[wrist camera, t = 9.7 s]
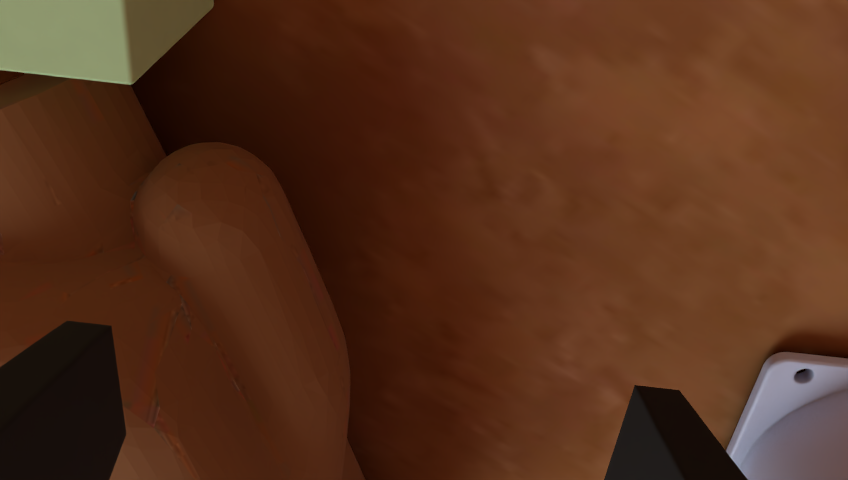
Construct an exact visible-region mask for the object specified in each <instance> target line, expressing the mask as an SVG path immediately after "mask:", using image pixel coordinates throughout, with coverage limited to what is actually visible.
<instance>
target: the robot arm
mask: <svg viewBox="0 0 848 480" xmlns="http://www.w3.org/2000/svg"><path fill="white" fill-rule="evenodd" d="M801 369H807V370H806V371H804V372H802V373H798V374H796V372H797V371H799V370H801ZM125 436H126V427H125V419H124V412H123V405H122V398H121V391H120V383H119V376H118V369H117V362H116V355H115V347H114V340H113V333H112V326H111V325H102V324H93V323H84V322H75V321H66V322H64V323H63V324H61V325H60V326H58V327H57V328H55V329H54V330H52V331H51V332H49V333H48V334H46V335H45V336H44V337H42V338H41V339H39V340H38V341H36V342H35V343H34V344H32V345H31V346H29V347H28V348H26V349H25V350H24V351H22V352H21V353H19V354H18V355H17V356H15V357H14V358H12V359H11V360H10V361H8V362H7V363H5V364H4V365H3V366H1V367H0V480H109V479H110V477H111V474H112V472H113V469H114V466H115V463H116V461H117V458H118V455H119V453H120V450H121V447H122V444H123V442H124V439H125ZM604 480H848V358H839V357H830V356H821V355H812V354H803V353H794V352H779V353H776V354H773V355H772V356H771V357H769V358H768V359H767V360H766V361H765V363H764V364H763V367H762V369H761V371H760V374H759V376H758V378H757V381H756V383H755V385H754V387H753V390H752V392H751V394H750V397H749V399H748V401H747V404H746V406H745V408H744V410H743V413H742V415H741V417H740V420H739V422H738V424H737V427H736V429H735V431H734V433H733V436H732V438H731V440H730V443H729V445H728V447H727V450H726V451H725V450H724V448H723V447H722V446H721V444H720V443H719V442H718V440H717V439H716V438H715V436H714V435H713V434H712V433H711V431H710V430H709V429H708V427H707V426H706V425H705V423H704V422H703V421H702V419H701V418H700V417H699V415H698V414H697V413H696V411H695V410H694V409H693V408H692V406H691V405H690V404H689V402H688V401H687V400H686V398H685V397H684V396H683V395H682V393H681V392H680V391H679V390H672V389H663V388H654V387H646V386H637V385H635V387H634V390H633V393H632V396H631V399H630V402H629V405H628V408H627V411H626V414H625V417H624V420H623V423H622V427H621V430H620V433H619V436H618V439H617V442H616V445H615V448H614V451H613V454H612V457H611V460H610V463H609V466H608V470H607V473H606V476H605V479H604Z"/></svg>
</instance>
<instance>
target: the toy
mask: <svg viewBox="0 0 848 480" xmlns="http://www.w3.org/2000/svg"><path fill="white" fill-rule="evenodd" d="M66 321H75V322H84V323H93V324H102V325H111V326H112V333H113V340H114V347H115V355H116V362H117V369H118V376H119V383H120V391H121V398H122V405H123V412H124V419H125V427H126V436H125V439H124V442H123V444H122V447H121V450H120V453H119V455H118V458H117V461H116V463H115V466H114V469H113V472H112V474H111V477H110V479H109V480H365V478H364V476H363V473H362V471H361V469H360V467H359V464H358V462H357V460H356V457H355V455H354V453H353V451H352V448H351V446H350V444H349V442H348V439H347V431H348V421H349V411H350V366H349V359H348V352H347V346H346V339H345V336H344V333H343V330H342V328H341V325H340V322H339V320H338V317H337V314H336V312H335V309H334V306H333V303H332V301H331V299H330V296H329V294H328V292H327V289H326V287H325V285H324V282H323V280H322V278H321V275H320V273H319V271H318V268H317V266H316V264H315V261H314V259H313V257H312V254H311V252H310V249H309V247H308V245H307V243H306V240H305V238H304V236H303V234H302V231H301V229H300V227H299V225H298V222H297V220H296V218H295V216H294V213H293V211H292V209H291V207H290V204H289V202H288V200H287V198H286V195H285V193H284V191H283V189H282V187H281V185H280V183H279V182H278V180H277V178H276V177H275V175H274V173H273V172H272V170H271V169H270V168H269V167H268V166H267V165H266V164H264V163H263V162H262V161H261V160H260V159H258V158H257V157H256V156H255V155H253V154H252V153H250V152H248V151H246V150H244V149H243V148H241V147H239V146H235V145H230V144H226V143H222V142H207V143H197V144H192V145H189V146H186V147H183V148H181V149H179V150H177V151H174V152H173V153H171V154H170V155H168V156H166V154H165V152H164V150H163V148H162V146H161V144H160V142H159V140H158V138H157V136H156V134H155V132H154V130H153V129H152V127H151V125H150V123H149V121H148V119H147V117H146V115H145V113H144V111H143V109H142V107H141V105H140V103H139V101H138V99H137V97H136V95H135V93H134V91H133V89H132V87H131V85H128V84H119V83H110V82H101V81H92V80H84V79H75V78H66V77H57V76H49V75H40V74H31V73H28V74H25V75H23V76H20V77H18V78H15V79H13V80H10V81H8V82H6V83H3V84H1V85H0V367H1V366H3V365H4V364H5V363H7V362H8V361H10V360H11V359H12V358H14V357H15V356H17V355H18V354H19V353H21V352H22V351H24V350H25V349H26V348H28V347H29V346H31V345H32V344H34V343H35V342H36V341H38V340H39V339H41V338H42V337H44V336H45V335H46V334H48V333H49V332H51V331H52V330H54V329H55V328H57V327H58V326H60V325H61V324H63V323H64V322H66Z"/></svg>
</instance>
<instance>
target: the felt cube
mask: <svg viewBox="0 0 848 480" xmlns="http://www.w3.org/2000/svg"><path fill="white" fill-rule="evenodd" d="M213 6H214V0H0V70H5V71H13V72H22V73H31V74H40V75H49V76H57V77H66V78H75V79H84V80H92V81H101V82H110V83H119V84H128V85H130V84H134V83H135V82H136V81H137V80H138V79H139V78H140V77H141V76H142V75H143V74H144V73H145V72H146V71H147V70H148V69H149V68H150V67H151V66H152V65H153V64H154V63H156V62H157V61H158V60H159V59H160V58H161V57H162V56H163V55H164V54H165V53H166V52H167V51H168V50H169V49H170V48H171V47H172V46H173V45H174V44H175V43H176V42H178V41H179V40H180V39H181V38H182V37H183V36H184V35H185V34H186V33H187V32H188V31H189V30H190V29H191V28H192V27H193V26H194V25H195V24H196V23H197V22H198V21H200V20H201V19H202V18H203V17H204V16H205V15H206V14H207V13H208V12H209V11H210V10H211V9H212V8H213Z"/></svg>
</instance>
